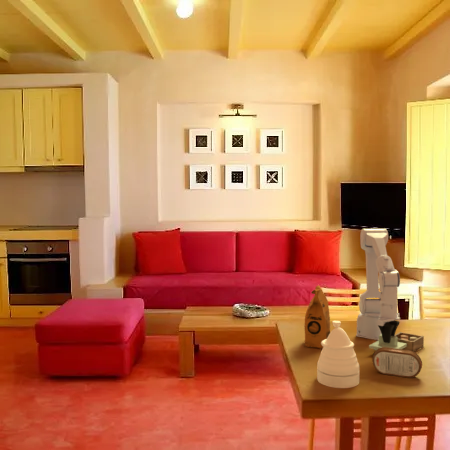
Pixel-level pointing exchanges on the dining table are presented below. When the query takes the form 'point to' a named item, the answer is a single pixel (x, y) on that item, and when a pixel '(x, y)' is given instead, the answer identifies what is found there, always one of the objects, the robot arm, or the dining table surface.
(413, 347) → the crate
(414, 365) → the tin
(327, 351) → the honey pot
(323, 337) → the coffee package
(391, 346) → the lid
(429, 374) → the dining table surface
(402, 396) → the dining table surface
